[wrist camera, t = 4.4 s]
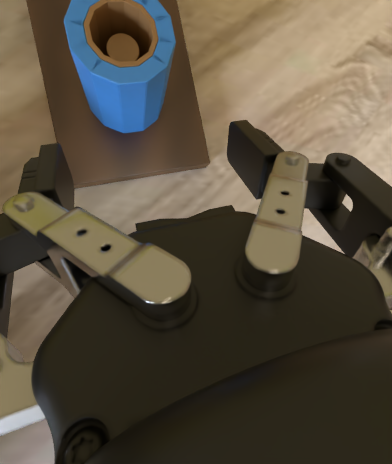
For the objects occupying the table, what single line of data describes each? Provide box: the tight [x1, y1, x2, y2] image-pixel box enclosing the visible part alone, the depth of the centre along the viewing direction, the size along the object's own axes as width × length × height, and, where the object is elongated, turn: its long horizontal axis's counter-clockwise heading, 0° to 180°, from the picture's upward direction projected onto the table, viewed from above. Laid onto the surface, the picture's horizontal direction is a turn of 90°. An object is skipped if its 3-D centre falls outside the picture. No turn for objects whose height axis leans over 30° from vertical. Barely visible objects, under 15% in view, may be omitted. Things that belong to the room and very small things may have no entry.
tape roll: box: [64, 0, 176, 133], centre depth 20 cm, size 6×6×8 cm
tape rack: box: [26, 0, 210, 189], centre depth 21 cm, size 12×22×8 cm, turn 11°
